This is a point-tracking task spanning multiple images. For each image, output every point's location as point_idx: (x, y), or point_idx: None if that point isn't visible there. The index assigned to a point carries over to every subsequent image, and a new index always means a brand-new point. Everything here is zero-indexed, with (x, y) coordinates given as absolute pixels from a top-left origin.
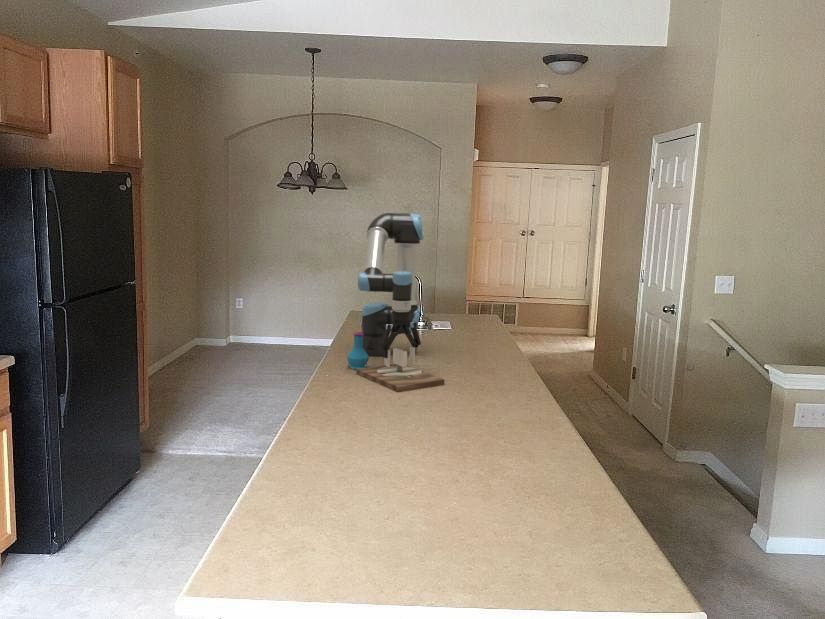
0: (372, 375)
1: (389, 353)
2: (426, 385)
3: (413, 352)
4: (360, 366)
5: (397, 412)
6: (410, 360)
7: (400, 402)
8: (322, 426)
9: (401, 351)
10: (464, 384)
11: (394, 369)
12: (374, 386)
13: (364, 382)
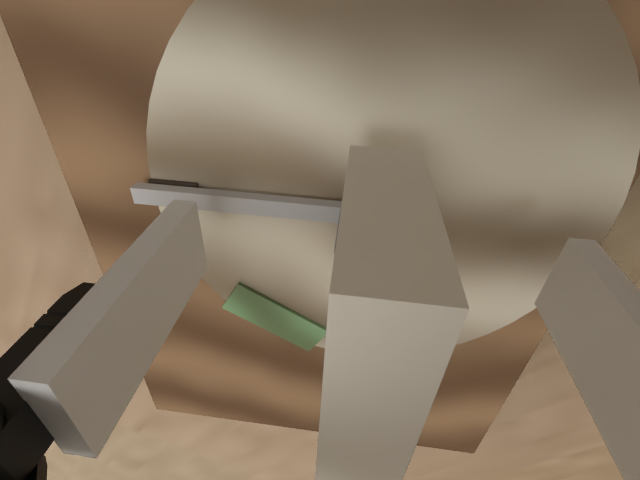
0: (71, 172)
1: (116, 402)
2: None
3: (604, 434)
4: None
5: (87, 475)
6: (567, 274)
7: (129, 445)
8: None
9: (317, 473)
10: (552, 461)
11: (383, 114)
12: (79, 270)
13: (25, 165)
